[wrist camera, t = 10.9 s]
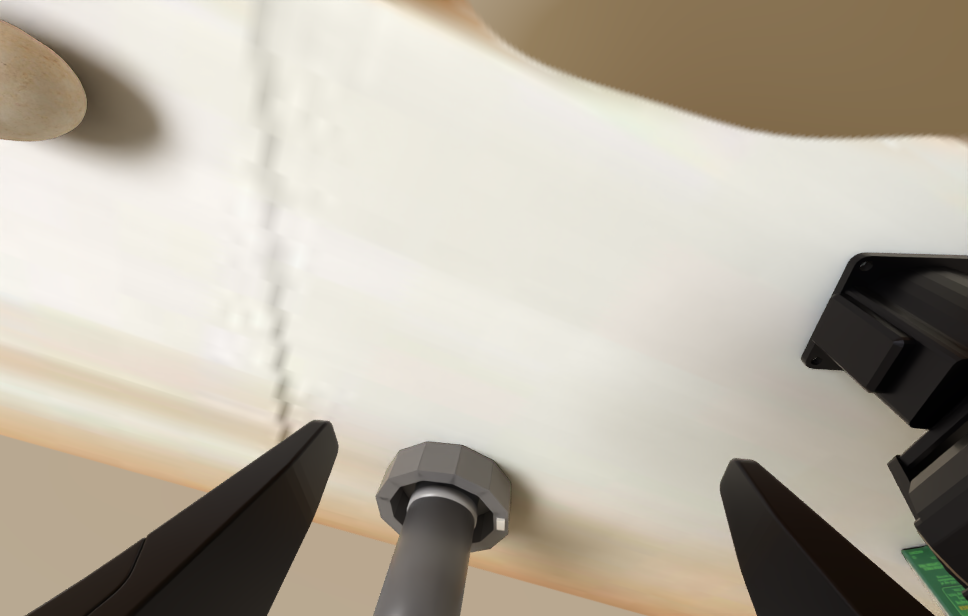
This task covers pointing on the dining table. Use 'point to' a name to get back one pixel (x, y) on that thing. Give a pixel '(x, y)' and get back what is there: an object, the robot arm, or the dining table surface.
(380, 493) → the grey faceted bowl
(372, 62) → the dining table surface
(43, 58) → the stone
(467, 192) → the dining table surface
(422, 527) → the dark grey banded cylinder
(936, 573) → the coffee box
